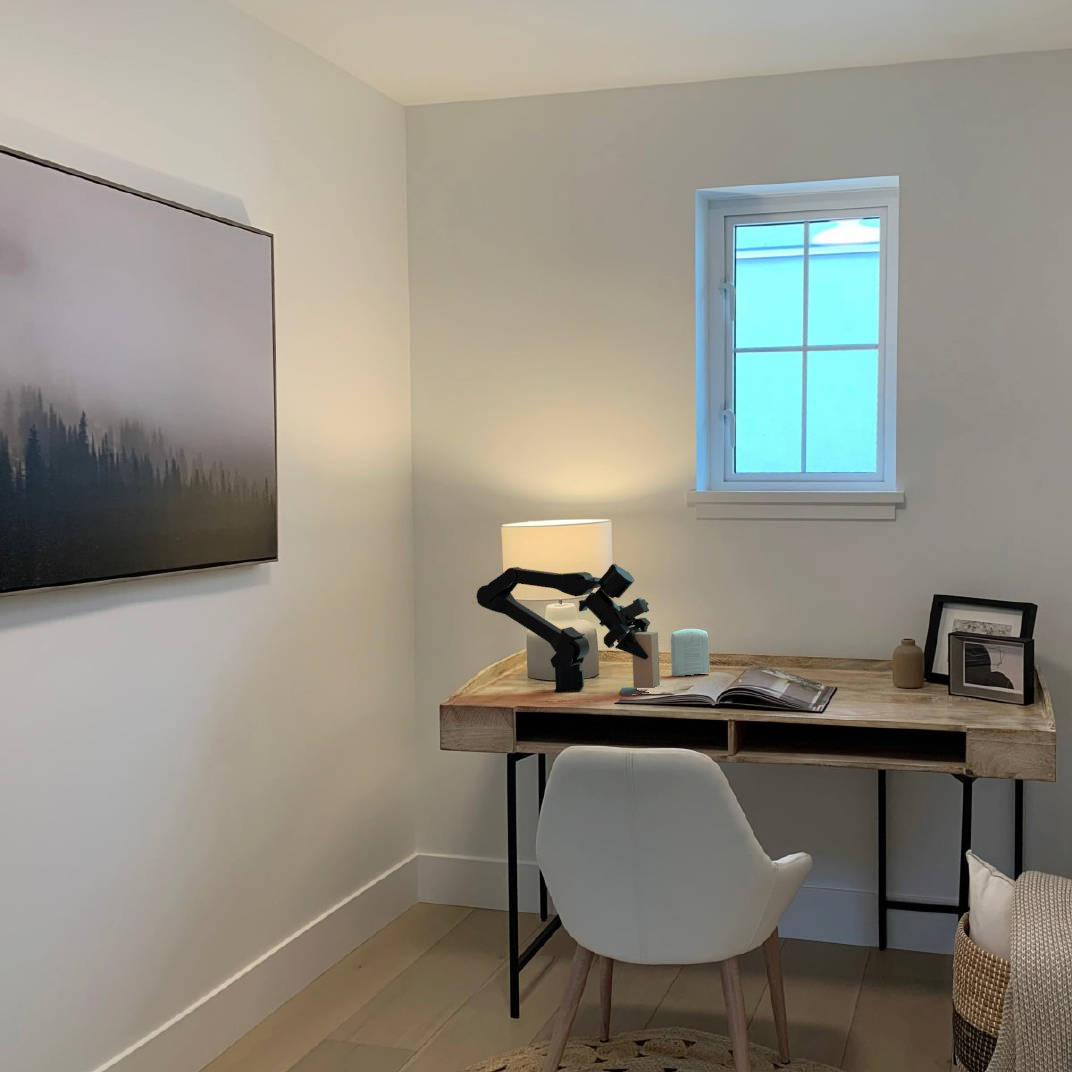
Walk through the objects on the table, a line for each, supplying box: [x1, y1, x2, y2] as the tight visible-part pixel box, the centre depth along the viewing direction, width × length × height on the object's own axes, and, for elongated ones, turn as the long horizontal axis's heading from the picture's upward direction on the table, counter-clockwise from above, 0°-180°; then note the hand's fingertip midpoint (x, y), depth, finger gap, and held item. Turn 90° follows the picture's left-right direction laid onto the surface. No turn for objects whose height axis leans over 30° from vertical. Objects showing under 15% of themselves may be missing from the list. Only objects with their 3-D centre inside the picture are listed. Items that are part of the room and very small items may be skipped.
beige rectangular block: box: [631, 631, 661, 688], centre depth 291 cm, size 5×5×13 cm
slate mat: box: [618, 686, 649, 697], centre depth 291 cm, size 13×9×1 cm
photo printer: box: [670, 628, 710, 677], centre depth 317 cm, size 10×4×12 cm, turn 98°
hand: (651, 656), depth 291 cm, fingers open, 5 cm apart
